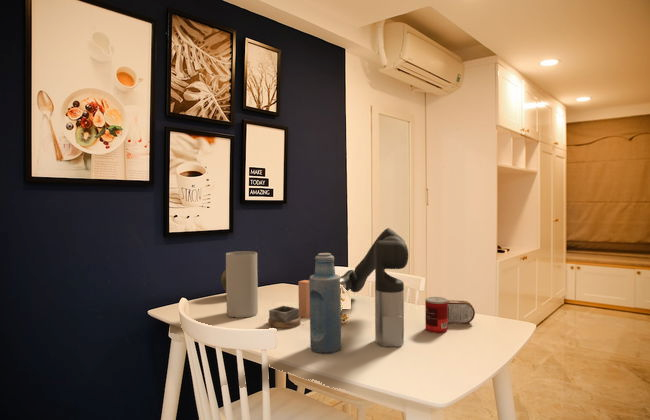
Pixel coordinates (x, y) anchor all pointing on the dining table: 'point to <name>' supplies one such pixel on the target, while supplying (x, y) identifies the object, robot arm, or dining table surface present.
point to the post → (304, 299)
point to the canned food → (436, 314)
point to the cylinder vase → (241, 284)
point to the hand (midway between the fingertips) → (311, 293)
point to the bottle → (325, 306)
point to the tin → (460, 312)
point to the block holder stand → (284, 317)
